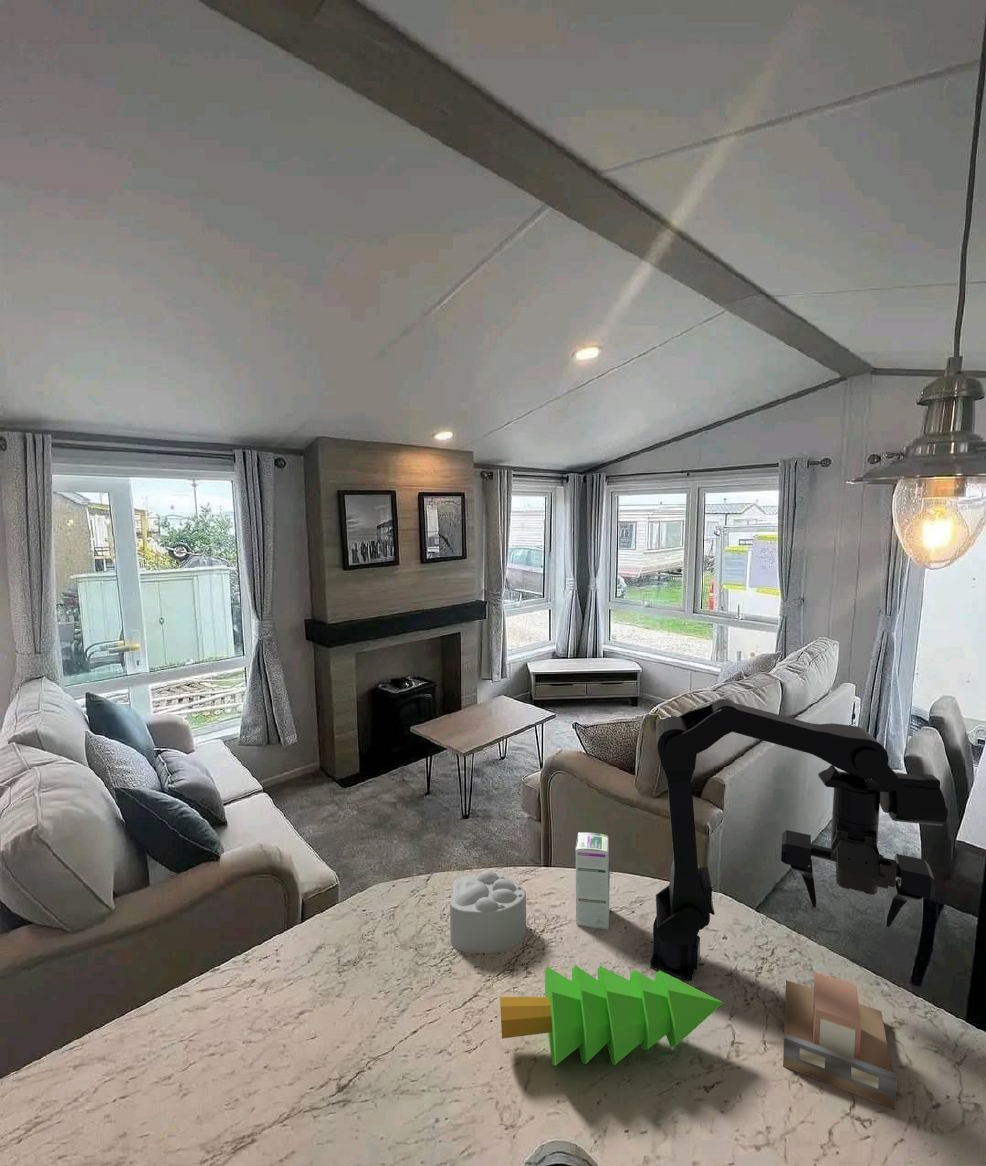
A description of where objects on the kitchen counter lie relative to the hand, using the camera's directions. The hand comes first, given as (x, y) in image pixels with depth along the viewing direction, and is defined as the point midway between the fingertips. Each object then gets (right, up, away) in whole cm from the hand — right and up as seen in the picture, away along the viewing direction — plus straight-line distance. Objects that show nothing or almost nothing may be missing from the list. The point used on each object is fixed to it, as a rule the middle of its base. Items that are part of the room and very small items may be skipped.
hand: (849, 915), depth 85 cm
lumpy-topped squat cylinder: (-54, -12, +15) cm, 57 cm away
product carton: (-7, -12, -8) cm, 16 cm away
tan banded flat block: (-7, -13, -7) cm, 16 cm away
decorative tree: (-37, -14, -8) cm, 40 cm away
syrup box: (-35, -11, +18) cm, 41 cm away
